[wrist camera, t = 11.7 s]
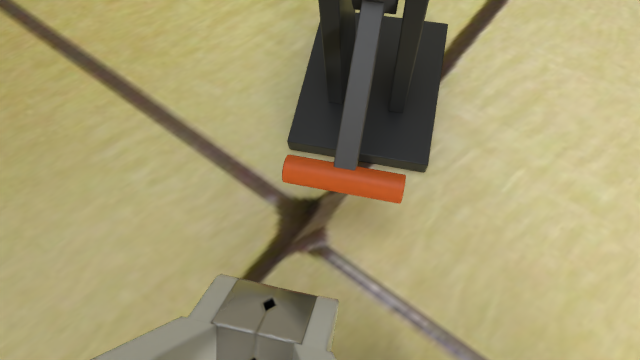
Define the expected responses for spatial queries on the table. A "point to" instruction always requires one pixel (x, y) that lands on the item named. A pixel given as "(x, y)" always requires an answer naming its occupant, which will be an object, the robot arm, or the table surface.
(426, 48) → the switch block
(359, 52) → the switch
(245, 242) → the table surface
